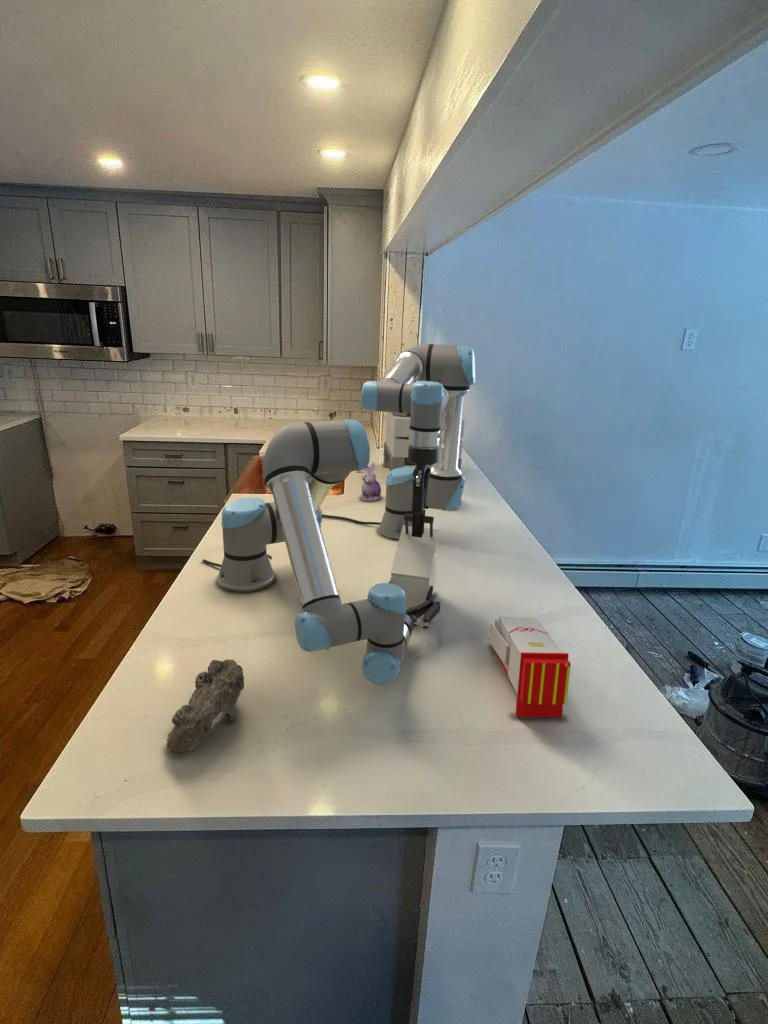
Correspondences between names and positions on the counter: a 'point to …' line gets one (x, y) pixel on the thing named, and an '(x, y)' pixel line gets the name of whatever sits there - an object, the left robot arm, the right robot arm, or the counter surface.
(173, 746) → the fossil
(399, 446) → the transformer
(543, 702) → the toy
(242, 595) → the counter surface
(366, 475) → the figurine
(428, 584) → the white open box
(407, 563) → the lid
